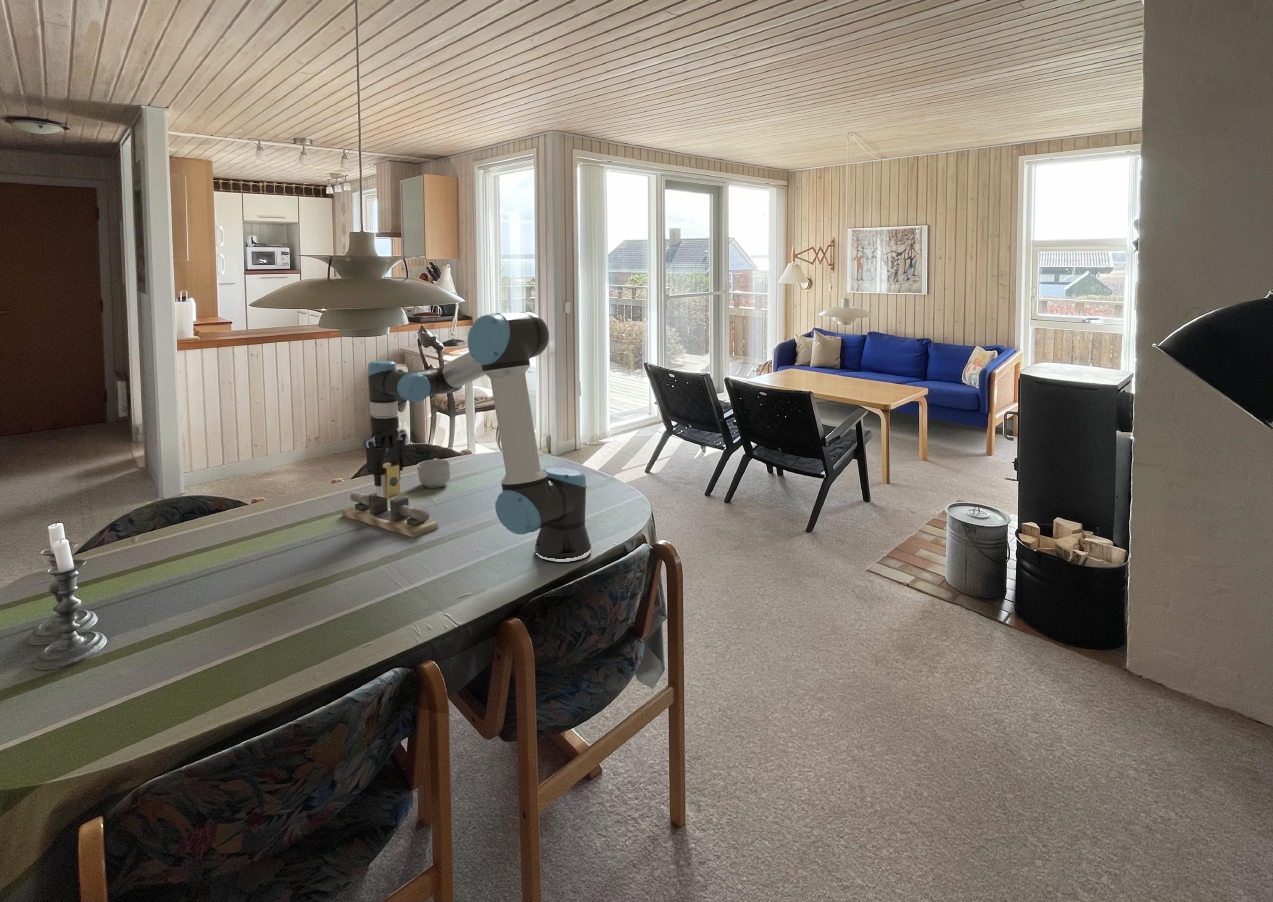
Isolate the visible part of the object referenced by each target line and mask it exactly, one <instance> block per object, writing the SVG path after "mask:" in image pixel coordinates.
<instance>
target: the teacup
mask: <svg viewBox="0 0 1273 902" xmlns="http://www.w3.org/2000/svg"><path fill="white" fill-rule="evenodd" d="M450 463H451V462H450V461H449V460H446V459H441V458H433V459H428V460H423V461H420V462H418V463H417V464H416V468H417V475H418V480H419V483H420V484H421V485H422V486H424V487H426V488H430V489H432V488H433V489H435V488H441V487H443V486H445V485H446V484H447V483H448V482H449V481H450V479H451V466H450V465H451V464H450Z"/></svg>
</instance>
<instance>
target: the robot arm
mask: <svg viewBox="0 0 1273 902" xmlns="http://www.w3.org/2000/svg"><path fill="white" fill-rule="evenodd" d="M549 340H550V332H549V328H548V326H547V324H546V321H544V319H543V318H541V317H540V316H539V315H537V314H535V313H533V312H530V311H519V312H495V313H494V312H493V313H490V314H484V315H481V316H479V317H477V318H476V320H474V321H473V323H472V326H471V327H470V328H469V330H468V334H467V349H468V352H466V353H464V354H462V355H461V356H458V357H456V358H455V359H453V360H451V361H448V362H447V363H445V364H443V365H440V366H439V367H435V368H430V369H421V370H414V371H401V370H397V369H398V367H397V364H396V362H394V361H392V360H374V361H370V362H369V363H368V365H367V380H368V381H367V382H368V395H369V397H368V398H369V414H370V415H371V417H370V428H371V431H372V435H371V438H370V439H368V440H367V439H366V440H364V441H363V444H364V446H365V453H366V455H365V456H366V466H367V467H366V468H367V470H366V471H367V474H369V475H373V480H374V487H375V488H376V492H377V496H380V497H385V479H384V475H382V469H383V464H384V462H385V456H386V455H385V453H387V452H388V453H387V454H388V457H389V460H390V463H393V464H397V465H399V475H400V476H401V472H402V471H403V470H404V468H405V467H406V466H407V464H406V463H407V462H406V438H407V434H406V433H402V432H399V430H398V429H399V427H400V424H399V416H398V414H399V405H398V403H399V401H398V400H404V401H408V402H418V403H419V402H422V401H424V400H425V399H426V398H428V397H433V396H439V395H444V394H453V393H456V392H459V391H460V390H462V388H463V386H464V385H467V384H469V383H471V382H473V381H476V380H477V379H479V378H482V377H484V376H486V377H488V378H489V380H490V385H491V391H492V392H491V393H492V398H493V404H494V409H495V410H494V411H495V415H496V422H497V427H498V428H497V429H498V434H499V435H498V436H499V440H500V441H499V442H500V445H501V452H502V458H503V462H504V463H503V465H504V469H505V475H504V477H503V478H502V479H501V481H500V483H501V490H502V491H501V493H499V494H498V496H497V498H496V500H495V503H494V504H495V509H494V510H495V513H496V515H497V518H498V520H499V522H500V523H501V524H502V526H503V527H505V528H506V530H508V531H509V532H510V533H513V534H515V535H525V534H526V535H527V534H529V533H534V532H536V531H538V530H539V533H538V535H537V538H536V540H535V544H534V552H535V551H536V553H538V554H539V555H541V556H543V557H547V558H555V559H566V558H574V557H578V556H581V555H583V554H584V553H586V552H588V551H589V550H590V549H591V550H592V543H591V541H590V537H589V533H588V531H587V530H588V529H587V526H586V505H587V504H586V503H587V501H586V499H587V496H586V495H587V482H586V475H585V474H584V473H583V472H581V471H579V470H576V469H572V468H563V467H548V468H544V469H543V470H542V468H541V465H540V458H539V451H538V445H537V439H536V434H535V433H536V432H535V428H534V427H535V426H534V420H533V414H532V409H531V402H530V401H531V400H530V396H529V389H528V382H527V376H526V373H527V371H528V370H529V368H530V366H531V363H530V362H531V361H530V359H531V358H536V357H538V356H540V355H541V354H542V353H543V352H544V351H545V350H546V349H547V347H548V345H549ZM377 470H378V471H377Z"/></svg>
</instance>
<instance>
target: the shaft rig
mask: <svg viewBox="0 0 1273 902" xmlns="http://www.w3.org/2000/svg"><path fill="white" fill-rule="evenodd" d="M349 498H350V500H351V502H353V503H354V502H355V503H356V504H355V503H354V505H353V506H350V507H348V508H344V509H342V516H343V517H345V518H349V519H351V520H354V519H355V520H354V521H358V522H361V521H362V522H361V523H365V524H367V525H368V524H369V525H370V526H371V525H372V526H375V527H378V528H381V529H384V530H385V529H386V530H388V531H391V532H395V533H399V534H402V535H404V536H408V537H411V538H418V537H420V536H421V535H425V534H427V533H430V532H432V531H435V530H438V529H439V523H438V521H436V520H432V519H430V515H431V514H430V512H429V511H428V510H425V509H422V508H417V507H413V506H410V504H409V501H410V500H409V497H407V496H400V497H398V498H394V499H390V500H389V505H390V506H388V498H385V497H380V496H377V491H376V492H373V493H370V494H366V493H362V492H358V491H352V493H351V494H350V496H349Z"/></svg>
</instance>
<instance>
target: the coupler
mask: <svg viewBox="0 0 1273 902" xmlns="http://www.w3.org/2000/svg"><path fill="white" fill-rule="evenodd" d="M377 471H378V470H377ZM382 475H384V479H385V498H387V499H390V498H394V497H397V496H400V495H401V474H400V475H399V465H397V464H393V463H391V462H385V463H384V462H383V469H382Z"/></svg>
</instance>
